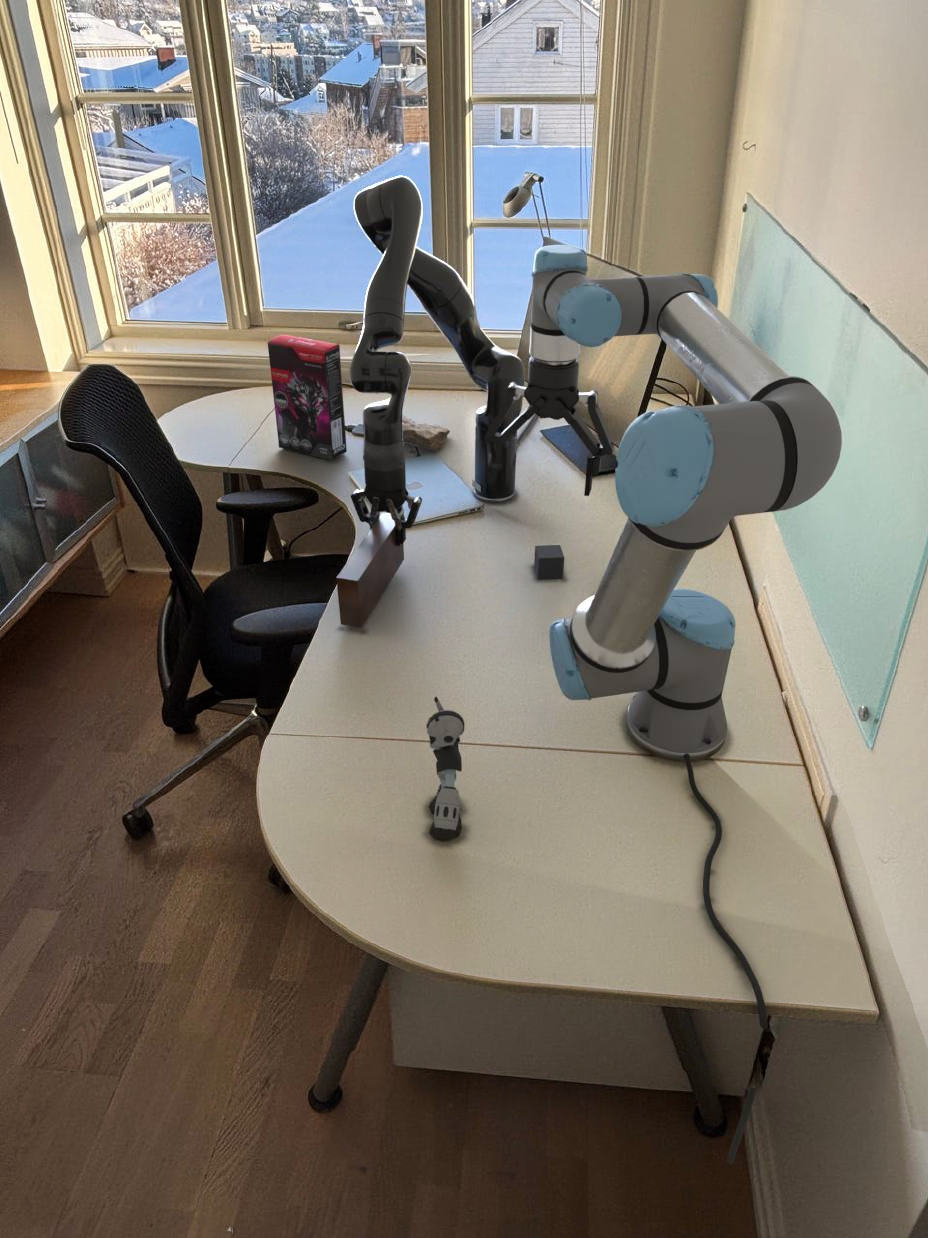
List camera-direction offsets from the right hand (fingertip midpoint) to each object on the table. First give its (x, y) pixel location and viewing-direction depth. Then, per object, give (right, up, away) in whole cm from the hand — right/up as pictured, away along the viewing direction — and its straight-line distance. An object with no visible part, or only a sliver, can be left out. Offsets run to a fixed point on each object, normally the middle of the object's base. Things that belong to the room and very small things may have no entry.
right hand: (546, 487), depth 149 cm
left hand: (-28, -7, +29) cm, 41 cm away
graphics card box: (-51, +21, +82) cm, 98 cm away
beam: (-30, -16, +25) cm, 42 cm away
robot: (-16, -49, -22) cm, 56 cm away
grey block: (+3, -12, +33) cm, 36 cm away
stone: (-28, +25, +88) cm, 95 cm away
